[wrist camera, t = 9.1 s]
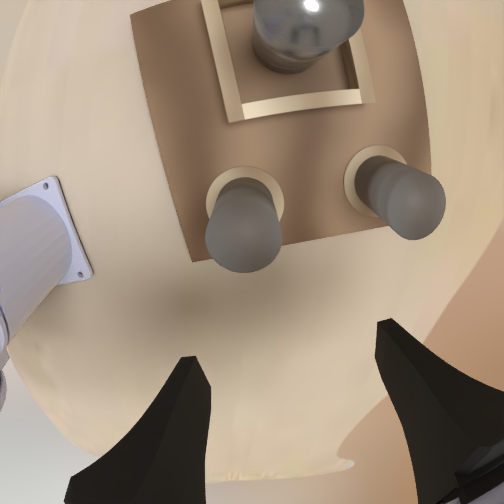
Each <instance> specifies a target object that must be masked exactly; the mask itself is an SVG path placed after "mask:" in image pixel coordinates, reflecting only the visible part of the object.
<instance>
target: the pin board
mask: <svg viewBox="0 0 504 504" xmlns="http://www.w3.org/2000/svg"><path fill="white" fill-rule="evenodd" d="M363 2H364V10H365V11H364V19H363V22H362V24H361V26H360V28H359V30H358V31H357V32H356V33H355V34H354V35H353V36H352V37H351V38H349V39H348V40H346V41H345V42H343V43H342V44H341V45H339V46H338V47H336V48H335V49H334V50H332V51H331V52H329V53H328V54H327V55H325V56H324V57H323V58H321V59H320V60H319V61H317V62H316V63H315V64H313V65H312V66H311V67H309V68H308V69H306V70H305V71H303V72H300V73H296V74H280V73H277V72H274V71H272V70H270V69H268V68H266V67H265V66H264V65H263V64H261V63H260V61H259V60H258V59H257V57H256V55H255V53H254V50H253V44H252V40H253V7H254V0H170V1H167V2H164V3H161V4H158V5H155V6H152V7H149V8H147V9H144V10H141V11H138V12H136V13H133V14H131V15H130V18H131V24H132V29H133V35H134V40H135V45H136V51H137V56H138V61H139V65H140V70H141V75H142V80H143V84H144V89H145V93H146V98H147V102H148V106H149V110H150V115H151V119H152V123H153V127H154V131H155V135H156V139H157V143H158V147H159V151H160V154H161V158H162V162H163V166H164V169H165V173H166V177H167V180H168V184H169V187H170V191H171V194H172V198H173V201H174V205H175V208H176V211H177V215H178V218H179V221H180V225H181V228H182V231H183V234H184V238H185V241H186V244H187V247H188V250H189V253H190V257H191V260H192V262H197V261H202V260H208V259H214V260H215V261H216V262H217V263H218V264H219V265H220V266H222V267H224V268H226V269H228V270H230V271H234V272H239V273H249V272H254V271H258V270H260V269H262V268H264V267H266V266H267V265H269V264H270V263H271V262H272V261H273V260H274V259H275V258H276V256H277V255H278V253H279V251H280V248H281V246H282V245H288V244H293V243H298V242H304V241H309V240H314V239H320V238H325V237H330V236H336V235H341V234H347V233H352V232H357V231H363V230H368V229H373V228H379V227H384V226H390V227H391V228H392V229H393V230H394V231H395V232H396V233H397V234H398V235H400V236H401V237H403V238H405V239H408V240H418V239H422V238H424V237H426V236H428V235H429V234H431V233H432V232H433V231H434V230H435V229H436V228H437V227H438V225H439V224H440V222H441V220H442V218H443V215H444V212H445V206H446V198H445V193H444V190H443V187H442V185H441V184H440V182H439V181H438V180H437V179H436V178H435V177H433V176H431V154H430V139H429V128H428V118H427V110H426V102H425V95H424V88H423V82H422V76H421V71H420V66H419V61H418V56H417V51H416V47H415V43H414V38H413V34H412V31H411V27H410V23H409V20H408V16H407V13H406V9H405V6H404V3H403V0H363Z"/></svg>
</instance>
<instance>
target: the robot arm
mask: <svg viewBox="0 0 504 504" xmlns="http://www.w3.org/2000/svg"><path fill="white" fill-rule="evenodd" d="M46 183H47V184H48V186H49V187H48V188H47V186H46ZM80 272H81V273H82V274H83V275H82V274H81V273H80ZM92 275H93V271H92V269H91V267H90V264H89V262H88V260H87V257H86V255H85V253H84V250H83V248H82V245H81V243H80V240H79V238H78V235H77V233H76V230H75V228H74V225H73V222H72V220H71V217H70V214H69V211H68V209H67V206H66V203H65V200H64V197H63V194H62V191H61V188H60V185H59V181H58V179H57V178H56V177H55V176H50V177H48V178H46V179H44V180H42V181H40V182H38V183H36V184H34V185H31V186H29V187H27V188H25V189H24V190H22V191H20V192H18V193H16V194H14V195H12V196H10V197H8V198H6V199H5V200H3V201H1V202H0V411H1V409H2V407H3V405H4V401H5V398H6V390H7V389H6V380H5V376H4V374H3V371H2V369H3V367H4V365H5V364H6V363H7V361H8V360H9V358H10V357H9V355H8V353H7V348H6V347H7V345H8V344H9V342H10V341H11V340H12V338H13V337H14V336H15V334H16V333H17V332H18V331H19V329H20V328H21V327H22V325H23V324H24V323H25V322H26V320H27V319H28V318H29V317H30V315H31V314H32V313H33V312H34V311H35V309H36V308H37V307H38V306H39V305H40V303H41V302H42V301H43V300H44V299H45V297H46V296H47V295H48V294H49V293H50V292H51V290H52V289H53V288H54V287H55V286H56V285H61V284H66V283H72V282H77V281H82V280H87V279H90V278H91V276H92ZM375 359H376V363H377V366H378V369H379V372H380V375H381V378H382V381H383V383H384V385H385V387H386V390H387V392H388V394H389V396H390V399H391V401H392V403H393V405H394V407H395V410H396V412H397V414H398V417H399V419H400V421H401V424H402V427H403V430H404V433H405V437H406V440H407V444H408V448H409V452H410V457H411V461H412V465H413V471H414V476H415V482H416V489H417V496H418V504H504V392H503V391H501V390H498V389H495V388H493V387H490V386H488V385H486V384H483V383H482V382H479V381H477V380H475V379H473V378H471V377H469V376H468V375H466V374H464V373H462V372H460V371H459V370H457V369H456V368H454V367H452V366H451V365H449V364H448V363H446V362H445V361H444V360H442V359H441V358H440V357H438V356H437V355H435V354H434V353H433V352H431V351H430V350H429V349H428V348H426V347H425V346H424V345H423V344H421V343H420V342H419V341H418V340H417V339H415V338H414V337H413V336H412V335H411V334H410V333H408V332H407V331H406V330H405V329H404V328H403V327H401V326H400V325H399V324H398V323H397V322H396V321H394V320H393V319H392V318H390V319H387V320H383V321H379V322H377V336H376V349H375ZM210 414H211V386H210V384H209V382H208V380H207V378H206V376H205V374H204V372H203V370H202V368H201V366H200V364H199V362H198V360H197V358H196V356H189V357H181V359H180V360H179V362H178V363H177V365H176V366H175V368H174V370H173V371H172V373H171V375H170V376H169V378H168V379H167V381H166V383H165V384H164V386H163V387H162V389H161V390H160V392H159V393H158V395H157V396H156V398H155V399H154V401H153V402H152V403H151V405H150V406H149V408H148V409H147V410H146V412H145V413H144V414H143V416H142V417H141V418H140V419H139V421H138V422H137V423H136V424H135V425H134V427H133V428H132V429H131V430H130V431H129V432H128V433H127V434H126V435H125V436H124V437H123V438H122V439H121V440H120V441H119V442H118V443H117V444H116V445H115V446H114V447H113V448H112V449H111V450H109V451H108V452H107V453H106V454H105V455H103V456H102V457H101V458H99V459H98V460H97V461H96V462H94V463H93V464H91V465H90V466H88V467H87V468H85V469H84V470H82V471H80V472H79V473H77V474H76V475H74V476H72V477H71V479H70V482H69V485H68V488H67V492H66V495H65V499H64V502H65V504H206V499H205V498H206V497H205V453H206V445H207V438H208V430H209V422H210Z"/></svg>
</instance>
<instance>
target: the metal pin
mask: <svg viewBox="0 0 504 504" xmlns="http://www.w3.org/2000/svg"><path fill="white" fill-rule="evenodd" d="M364 11H365V10H364V2H363V0H254V7H253V40H252V44H253V50H254V53H255V55H256V57H257V59H258V60H259V61H260V63H261V64H263V65H264V66H265V67H266V68H268V69H270V70H272V71H274V72H277V73H280V74H296V73H300V72H303V71H305V70H306V69H308V68H309V67H311V66H312V65H313V64H315V63H316V62H317V61H319V60H320V59H321V58H323V57H324V56H325V55H327V54H328V53H329V52H331V51H332V50H334V49H335V48H336V47H338V46H339V45H341V44H342V43H343V42H345V41H346V40H348V39H349V38H351V37H352V36H353V35H354V34H355V33H356V32H357V31H358V30H359V28H360V26H361V24H362V22H363V19H364Z"/></svg>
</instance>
